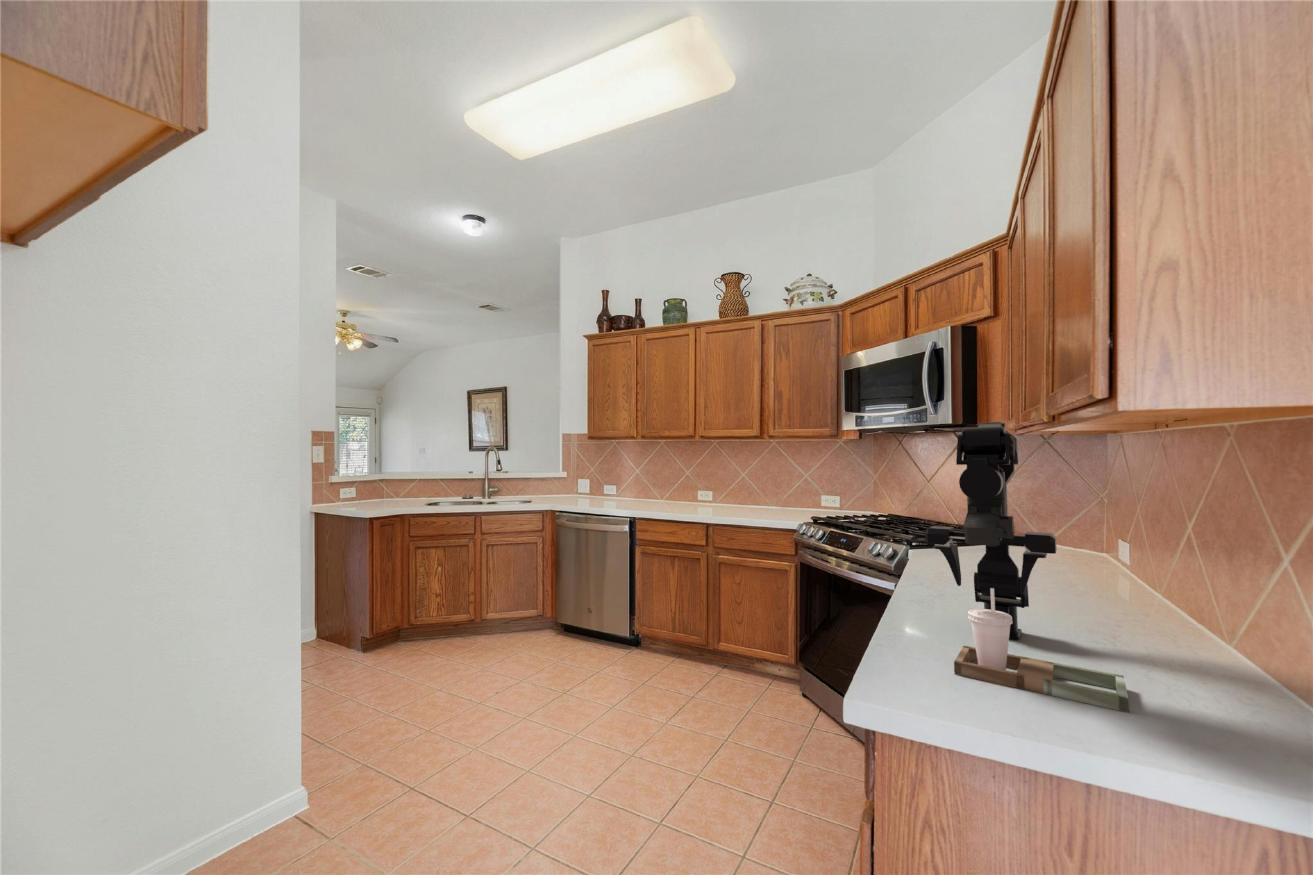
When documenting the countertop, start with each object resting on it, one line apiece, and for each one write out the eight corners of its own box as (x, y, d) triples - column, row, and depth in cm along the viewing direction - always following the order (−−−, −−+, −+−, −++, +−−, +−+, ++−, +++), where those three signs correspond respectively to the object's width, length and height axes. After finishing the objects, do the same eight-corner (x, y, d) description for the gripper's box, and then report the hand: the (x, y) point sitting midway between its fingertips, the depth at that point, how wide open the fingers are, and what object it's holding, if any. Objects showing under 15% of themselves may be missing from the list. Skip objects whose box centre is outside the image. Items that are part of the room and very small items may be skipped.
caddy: (964, 656, 93) (963, 645, 93) (1124, 688, 80) (1123, 675, 80) (954, 673, 86) (954, 661, 86) (1129, 712, 72) (1128, 697, 72)
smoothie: (1022, 681, 83) (1018, 593, 83) (979, 678, 84) (975, 592, 85) (1004, 665, 89) (1000, 584, 90) (964, 663, 90) (960, 583, 91)
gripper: (916, 498, 89) (919, 589, 88) (1051, 502, 77) (1056, 608, 76) (930, 496, 98) (933, 579, 97) (1054, 499, 86) (1059, 594, 85)
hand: (989, 589), depth 88 cm, fingers open, 9 cm apart
